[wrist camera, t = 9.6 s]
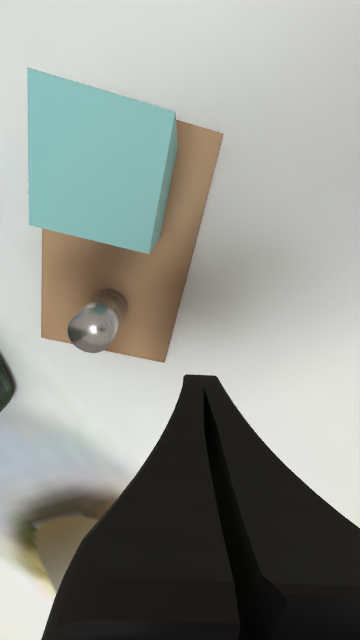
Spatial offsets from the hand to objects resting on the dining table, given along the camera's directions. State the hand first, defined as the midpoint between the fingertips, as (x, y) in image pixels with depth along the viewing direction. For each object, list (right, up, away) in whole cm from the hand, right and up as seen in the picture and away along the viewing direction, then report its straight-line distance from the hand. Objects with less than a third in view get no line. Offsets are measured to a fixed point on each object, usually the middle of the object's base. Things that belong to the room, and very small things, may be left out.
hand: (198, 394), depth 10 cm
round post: (-6, +4, +8) cm, 11 cm away
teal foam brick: (-4, +11, +5) cm, 13 cm away
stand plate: (-5, +8, +7) cm, 12 cm away
